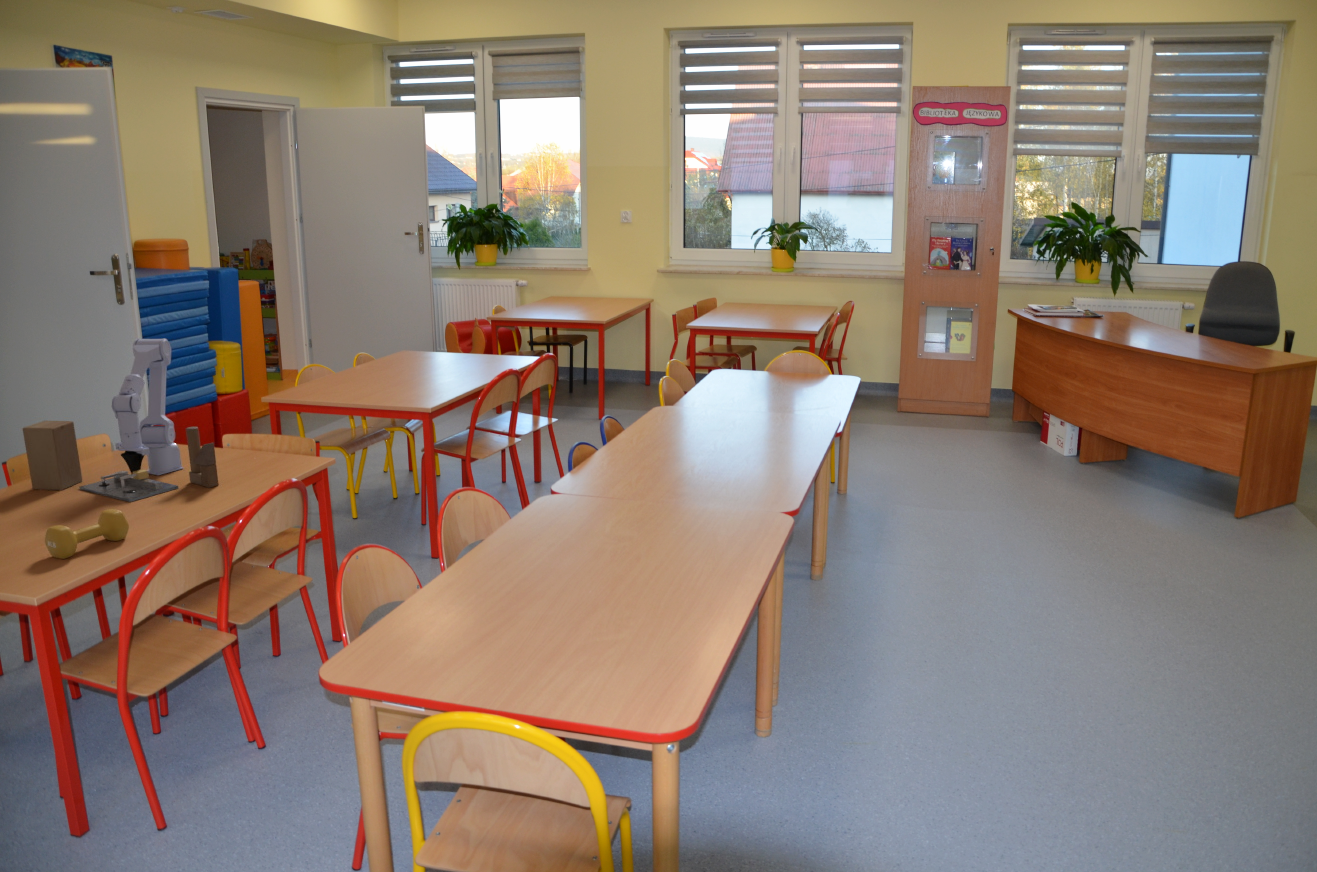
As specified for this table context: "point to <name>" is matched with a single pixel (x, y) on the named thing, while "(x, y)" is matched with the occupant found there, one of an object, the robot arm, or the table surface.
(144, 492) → the hole plate
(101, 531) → the dumbbell
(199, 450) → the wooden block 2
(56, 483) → the wooden block
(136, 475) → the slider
